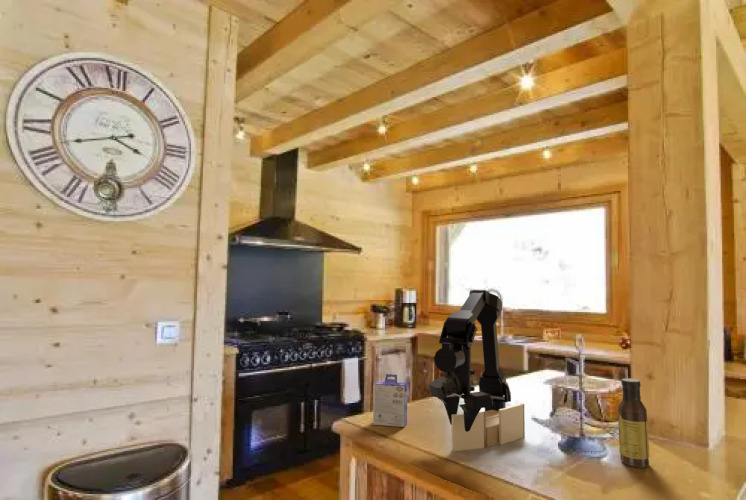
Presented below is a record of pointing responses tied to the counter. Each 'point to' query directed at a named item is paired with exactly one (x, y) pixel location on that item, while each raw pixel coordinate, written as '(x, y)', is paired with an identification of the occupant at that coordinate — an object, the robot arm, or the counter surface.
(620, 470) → the counter surface
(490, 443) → the carton
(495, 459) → the counter surface
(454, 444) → the front flap
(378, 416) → the ink cartridge box
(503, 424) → the side flap
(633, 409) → the sauce bottle
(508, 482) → the counter surface
